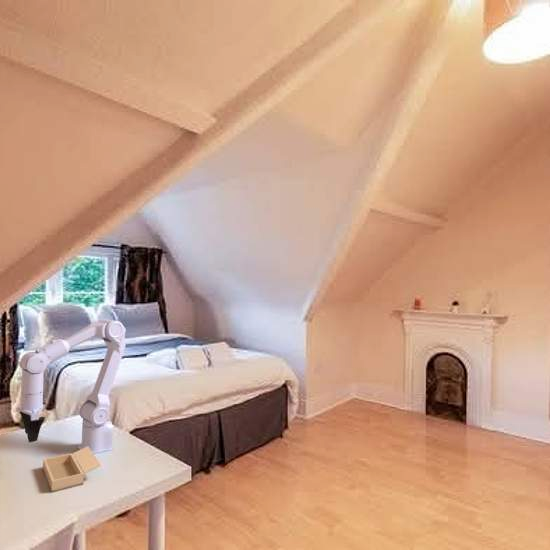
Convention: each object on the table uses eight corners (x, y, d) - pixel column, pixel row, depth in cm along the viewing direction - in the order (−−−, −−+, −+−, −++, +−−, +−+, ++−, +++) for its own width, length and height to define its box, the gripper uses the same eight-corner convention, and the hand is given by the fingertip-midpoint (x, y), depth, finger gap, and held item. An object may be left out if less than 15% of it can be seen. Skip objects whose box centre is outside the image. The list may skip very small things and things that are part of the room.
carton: (71, 462, 132) (72, 453, 132) (83, 484, 119) (83, 473, 119) (42, 469, 127) (43, 459, 127) (51, 492, 114) (52, 481, 114)
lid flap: (73, 453, 131) (73, 454, 131) (84, 472, 119) (84, 474, 119) (87, 446, 134) (88, 447, 134) (100, 464, 122) (100, 466, 122)
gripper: (14, 388, 131) (13, 431, 131) (19, 400, 119) (18, 448, 119) (40, 385, 135) (39, 427, 135) (47, 396, 123) (46, 442, 123)
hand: (31, 437), depth 127 cm, fingers open, 7 cm apart
